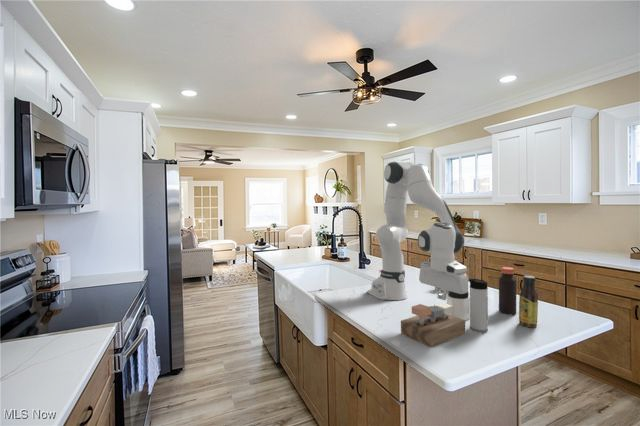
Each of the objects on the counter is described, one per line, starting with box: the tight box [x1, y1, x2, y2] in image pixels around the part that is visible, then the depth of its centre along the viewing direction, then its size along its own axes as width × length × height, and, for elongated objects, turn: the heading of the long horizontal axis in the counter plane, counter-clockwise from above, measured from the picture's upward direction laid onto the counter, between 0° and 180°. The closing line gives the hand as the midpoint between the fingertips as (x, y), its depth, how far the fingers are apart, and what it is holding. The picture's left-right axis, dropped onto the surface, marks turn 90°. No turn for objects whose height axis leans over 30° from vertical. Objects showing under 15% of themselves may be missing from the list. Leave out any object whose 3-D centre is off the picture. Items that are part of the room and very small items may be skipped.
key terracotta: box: [411, 303, 432, 327], centre depth 117 cm, size 5×5×8 cm
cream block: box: [433, 302, 453, 319], centre depth 124 cm, size 5×5×8 cm
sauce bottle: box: [518, 274, 539, 328], centre depth 126 cm, size 6×6×20 cm
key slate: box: [428, 305, 443, 322], centre depth 121 cm, size 5×5×8 cm
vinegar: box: [498, 266, 517, 316], centre depth 141 cm, size 7×7×20 cm
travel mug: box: [468, 278, 489, 334], centre depth 123 cm, size 6×7×20 cm
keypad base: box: [400, 314, 466, 348], centre depth 121 cm, size 14×20×5 cm
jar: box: [446, 290, 470, 322], centre depth 136 cm, size 9×8×12 cm
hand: (441, 299), depth 124 cm, fingers closed
